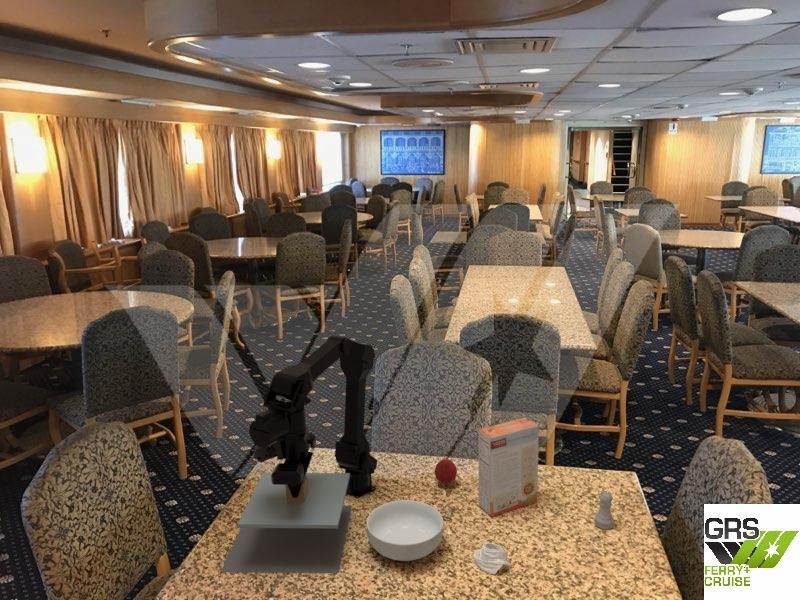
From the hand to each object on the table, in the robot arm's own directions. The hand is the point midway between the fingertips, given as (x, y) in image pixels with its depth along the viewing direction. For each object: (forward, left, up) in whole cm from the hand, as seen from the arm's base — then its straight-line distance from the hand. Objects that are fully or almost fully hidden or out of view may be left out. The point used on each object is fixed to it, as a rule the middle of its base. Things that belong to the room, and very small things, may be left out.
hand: (297, 492), depth 140 cm
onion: (-41, +7, -12) cm, 43 cm away
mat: (+1, -2, -12) cm, 12 cm away
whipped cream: (-24, +36, -12) cm, 45 cm away
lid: (0, 0, -2) cm, 2 cm away
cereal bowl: (-15, +19, -12) cm, 27 cm away
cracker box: (-45, +24, -12) cm, 52 cm away
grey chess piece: (-54, +45, -12) cm, 71 cm away
